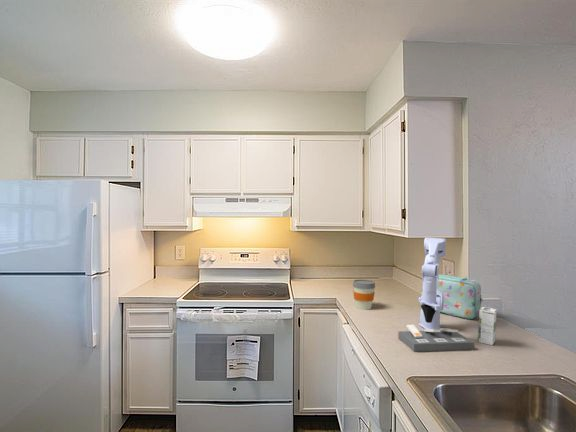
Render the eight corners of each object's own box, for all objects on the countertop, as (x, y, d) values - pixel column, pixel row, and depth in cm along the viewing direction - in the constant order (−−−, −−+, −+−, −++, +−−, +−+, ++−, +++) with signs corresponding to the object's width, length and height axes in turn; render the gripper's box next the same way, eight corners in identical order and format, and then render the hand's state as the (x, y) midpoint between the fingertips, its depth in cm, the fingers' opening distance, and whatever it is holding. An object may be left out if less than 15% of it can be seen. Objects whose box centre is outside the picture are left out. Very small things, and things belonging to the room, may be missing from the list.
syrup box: (480, 338, 149) (481, 306, 149) (495, 342, 145) (496, 308, 145) (477, 342, 145) (478, 308, 145) (493, 345, 141) (494, 311, 141)
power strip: (398, 338, 148) (398, 329, 147) (453, 336, 151) (453, 328, 151) (414, 351, 134) (414, 342, 134) (474, 349, 137) (474, 340, 137)
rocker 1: (406, 326, 147) (406, 324, 147) (413, 326, 148) (413, 324, 147) (415, 337, 140) (415, 335, 139) (422, 337, 140) (422, 335, 140)
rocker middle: (423, 331, 148) (423, 329, 148) (430, 331, 148) (430, 328, 149) (433, 332, 140) (433, 329, 141) (440, 331, 141) (440, 329, 141)
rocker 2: (440, 330, 149) (440, 328, 149) (447, 330, 150) (447, 328, 150) (451, 332, 141) (451, 329, 142) (458, 331, 142) (458, 329, 142)
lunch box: (484, 318, 178) (485, 278, 177) (477, 322, 171) (479, 280, 170) (433, 307, 197) (434, 270, 197) (426, 310, 190) (427, 272, 190)
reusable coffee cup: (373, 311, 186) (374, 284, 186) (351, 309, 190) (351, 282, 190) (375, 305, 198) (376, 280, 197) (354, 303, 202) (354, 278, 201)
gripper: (412, 287, 154) (411, 316, 154) (429, 295, 139) (428, 328, 140) (427, 287, 155) (426, 316, 155) (445, 295, 140) (444, 327, 141)
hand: (428, 322), depth 147 cm, fingers closed
